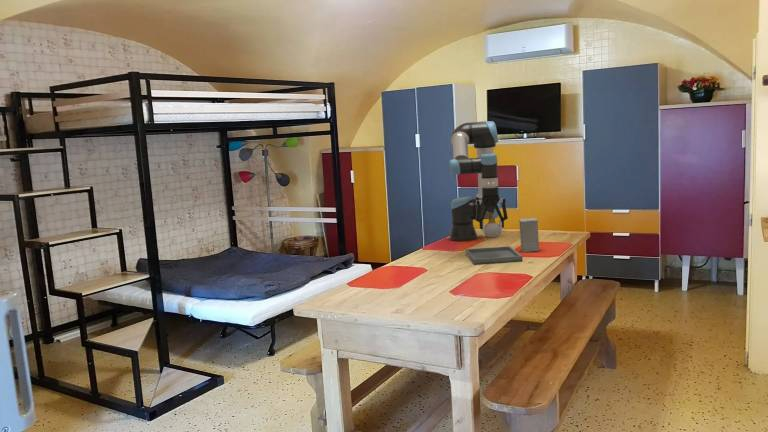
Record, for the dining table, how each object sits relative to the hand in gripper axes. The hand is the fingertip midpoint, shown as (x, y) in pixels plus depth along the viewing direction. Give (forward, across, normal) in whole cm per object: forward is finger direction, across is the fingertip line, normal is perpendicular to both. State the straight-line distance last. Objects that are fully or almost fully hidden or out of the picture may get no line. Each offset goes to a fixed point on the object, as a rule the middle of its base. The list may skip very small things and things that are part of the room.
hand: (492, 235), depth 289 cm
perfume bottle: (+1, -1, 0) cm, 1 cm away
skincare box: (+11, +20, +10) cm, 25 cm away
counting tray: (+11, 0, 0) cm, 11 cm away
